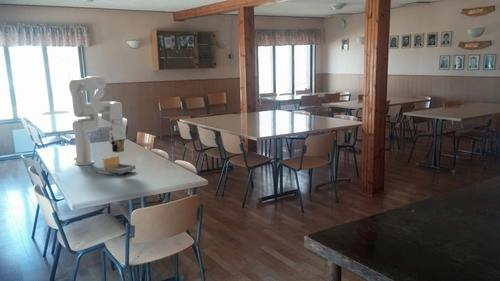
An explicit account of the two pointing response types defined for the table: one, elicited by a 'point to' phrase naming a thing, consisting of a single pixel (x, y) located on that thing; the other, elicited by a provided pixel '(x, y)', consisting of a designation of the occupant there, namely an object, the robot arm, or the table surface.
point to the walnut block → (119, 146)
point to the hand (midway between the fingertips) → (118, 150)
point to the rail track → (115, 174)
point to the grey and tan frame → (116, 165)
